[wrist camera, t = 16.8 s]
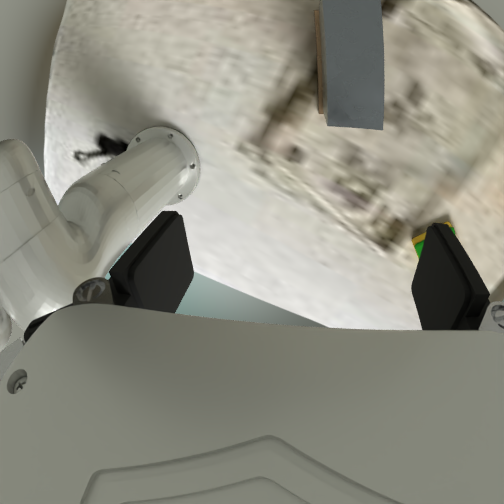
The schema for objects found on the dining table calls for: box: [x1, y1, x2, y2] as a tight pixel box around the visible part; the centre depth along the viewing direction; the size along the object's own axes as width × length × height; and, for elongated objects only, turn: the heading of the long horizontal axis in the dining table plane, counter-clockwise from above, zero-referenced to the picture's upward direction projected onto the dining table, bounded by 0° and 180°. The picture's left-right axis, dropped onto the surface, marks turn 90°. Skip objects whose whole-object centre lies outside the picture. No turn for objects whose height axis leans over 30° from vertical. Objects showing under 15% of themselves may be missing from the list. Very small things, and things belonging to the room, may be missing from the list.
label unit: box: [314, 0, 384, 130], centre depth 25 cm, size 6×14×13 cm, turn 4°
